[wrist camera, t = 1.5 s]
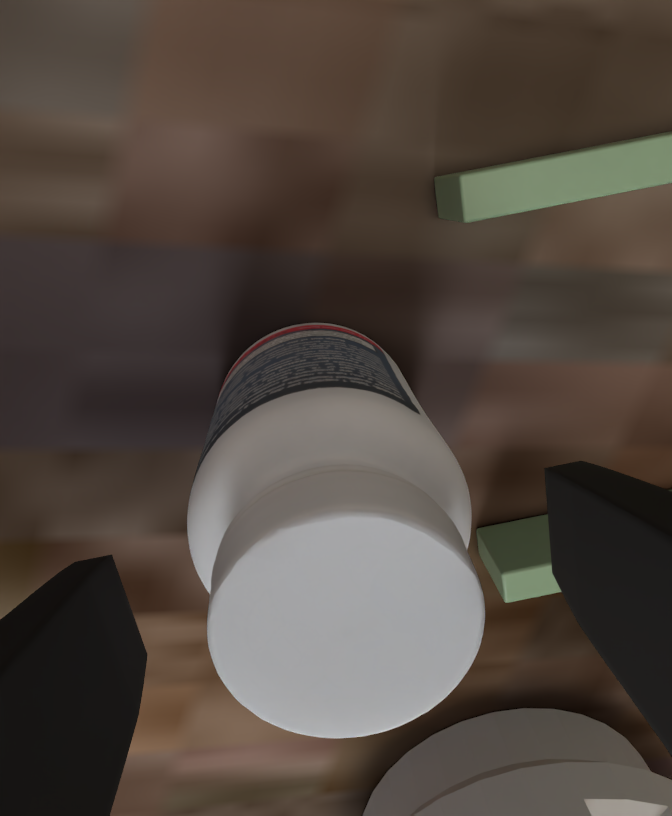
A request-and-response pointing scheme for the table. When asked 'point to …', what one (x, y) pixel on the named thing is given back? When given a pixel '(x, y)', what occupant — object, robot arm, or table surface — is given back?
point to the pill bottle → (332, 539)
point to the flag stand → (523, 771)
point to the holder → (523, 191)
